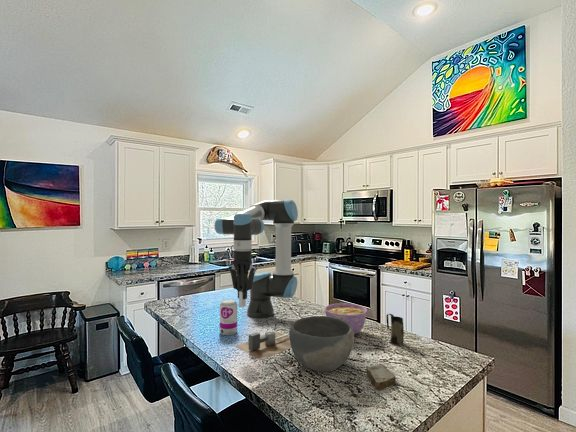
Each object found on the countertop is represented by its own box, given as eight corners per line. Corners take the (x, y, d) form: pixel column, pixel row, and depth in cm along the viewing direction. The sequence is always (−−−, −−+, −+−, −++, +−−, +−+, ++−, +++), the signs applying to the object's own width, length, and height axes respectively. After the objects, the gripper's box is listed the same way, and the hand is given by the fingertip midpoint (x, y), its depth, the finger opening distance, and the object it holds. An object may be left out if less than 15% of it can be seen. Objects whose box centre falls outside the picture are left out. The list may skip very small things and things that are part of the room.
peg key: (285, 335, 149) (285, 322, 149) (291, 338, 146) (291, 324, 146) (247, 349, 135) (247, 333, 135) (253, 352, 131) (253, 336, 131)
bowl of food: (371, 329, 162) (371, 306, 162) (362, 344, 144) (362, 317, 144) (331, 323, 170) (331, 301, 170) (318, 336, 152) (318, 311, 152)
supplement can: (233, 336, 153) (233, 304, 153) (217, 335, 155) (217, 303, 155) (239, 330, 161) (239, 299, 161) (223, 329, 163) (223, 298, 162)
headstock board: (274, 333, 157) (274, 330, 156) (305, 345, 142) (305, 342, 142) (231, 347, 140) (231, 344, 140) (261, 362, 125) (261, 358, 125)
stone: (363, 370, 120) (363, 361, 120) (385, 369, 121) (385, 361, 121) (375, 392, 105) (375, 382, 105) (401, 391, 106) (401, 381, 106)
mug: (406, 344, 144) (406, 316, 144) (398, 347, 141) (398, 318, 141) (391, 338, 150) (391, 312, 150) (383, 341, 147) (383, 314, 147)
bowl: (338, 389, 107) (338, 342, 107) (276, 370, 120) (276, 328, 120) (364, 360, 127) (364, 321, 127) (308, 347, 140) (308, 312, 140)
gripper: (224, 250, 138) (224, 306, 138) (250, 251, 132) (250, 310, 132) (235, 248, 145) (234, 302, 145) (260, 250, 139) (260, 306, 139)
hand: (242, 306), depth 138 cm, fingers closed
